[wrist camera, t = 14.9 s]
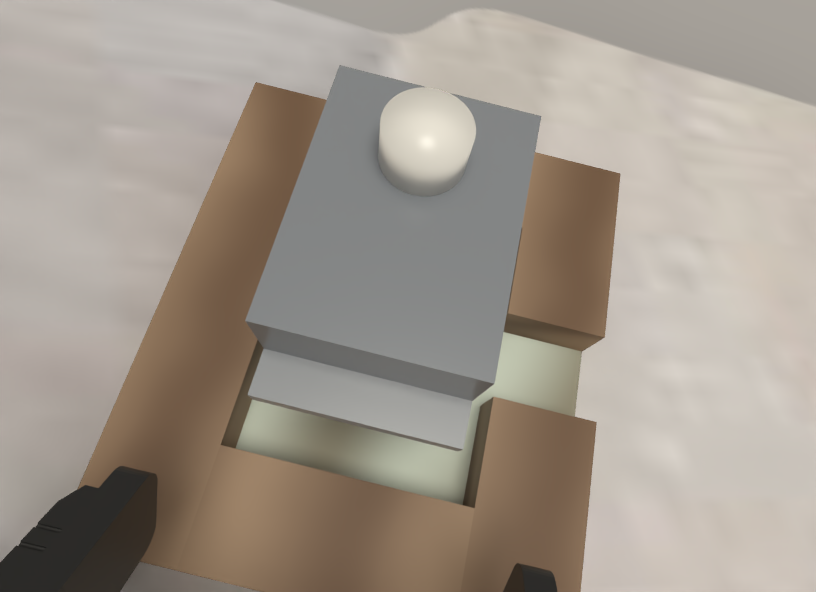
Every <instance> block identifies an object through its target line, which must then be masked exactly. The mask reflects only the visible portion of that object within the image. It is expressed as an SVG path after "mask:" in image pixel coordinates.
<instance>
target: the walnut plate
mask: <svg viewBox="0 0 816 592" xmlns="http://www.w3.org/2000/svg"><path fill="white" fill-rule="evenodd" d="M326 101H327V100H325V99H321V98H317V97H313V96H309V95H305V94H301V93H297V92H293V91H289V90H285V89H281V88H277V87H273V86H269V85H265V84H261V83H257V82H256V83H255V85H254V87H253V90H252V92H251V94H250V97H249V99H248V101H247V103H246V106H245V108H244V110H243V113H242V115H241V117H240V119H239V122H238V124H237V126H236V129H235V131H234V133H233V135H232V138H231V140H230V142H229V145H228V147H227V149H226V151H225V154H224V156H223V158H222V161H221V163H220V165H219V167H218V170H217V172H216V174H215V177H214V179H213V181H212V183H211V186H210V188H209V190H208V192H207V195H206V197H205V199H204V202H203V204H202V206H201V208H200V211H199V213H198V215H197V218H196V220H195V222H194V224H193V227H192V229H191V231H190V234H189V236H188V238H187V240H186V243H185V245H184V247H183V250H182V252H181V254H180V256H179V259H178V261H177V263H176V266H175V268H174V270H173V272H172V275H171V277H170V279H169V282H168V284H167V286H166V288H165V291H164V293H163V295H162V298H161V300H160V302H159V304H158V307H157V309H156V311H155V313H154V316H153V318H152V320H151V323H150V325H149V327H148V329H147V332H146V334H145V336H144V339H143V341H142V343H141V345H140V348H139V350H138V352H137V355H136V357H135V359H134V361H133V364H132V366H131V368H130V371H129V373H128V375H127V377H126V380H125V382H124V384H123V387H122V389H121V391H120V393H119V396H118V398H117V400H116V403H115V405H114V407H113V409H112V412H111V414H110V416H109V419H108V421H107V423H106V425H105V428H104V430H103V432H102V434H101V437H100V439H99V441H98V444H97V446H96V448H95V450H94V453H93V455H92V457H91V460H90V462H89V464H88V466H87V469H86V471H85V473H84V476H83V478H82V480H81V482H80V485H79V487H78V489H79V488H81V487H83V486H84V485H88V486H92V487H96V488H99V487H100V486H101V485H102V483H103V482H104V481H105V480H106V479H107V478H108V477H109V475H110V474H111V473H112V472H113V471H114V470H115V469H116V468H118V467H119V466H126V467H130V468H134V469H138V470H142V471H146V472H150V473H155V474H156V475H157V478H158V485H157V519H156V528H155V532H154V535H153V538H152V540H151V543H150V545H149V547H148V549H147V551H146V552H145V554H144V556H143V557H142V559H141V560H140V562H144V563H148V564H152V565H156V566H160V567H164V568H168V569H172V570H176V571H180V572H184V573H188V574H192V575H196V576H200V577H204V578H208V579H212V580H216V581H220V582H224V583H228V584H233V585H237V586H241V587H245V588H249V589H253V590H257V591H261V592H503V590H504V588H505V586H506V584H507V581H508V579H509V577H510V575H511V572H512V570H513V568H514V566H515V565H516V564H517V563H520V564H524V565H528V566H533V567H537V568H541V569H545V570H549V571H551V572H552V573H553V574H554V577H555V581H556V586H557V592H580V590H581V580H582V569H583V559H584V548H585V538H586V527H587V517H588V506H589V496H590V485H591V475H592V465H593V454H594V444H595V433H596V423H597V422H593V421H589V420H585V419H581V418H577V417H575V408H576V399H577V390H578V381H579V372H580V363H581V354H582V351H583V350H585V349H587V348H588V347H590V346H592V345H593V344H595V343H596V342H598V341H600V340H601V339H603V338H604V337H605V329H606V318H607V308H608V297H609V287H610V276H611V266H612V255H613V245H614V235H615V224H616V214H617V203H618V193H619V182H620V173H616V172H612V171H608V170H604V169H600V168H596V167H592V166H588V165H584V164H580V163H576V162H572V161H568V160H564V159H560V158H556V157H552V156H548V155H544V154H540V153H536V152H535V155H534V160H533V166H532V172H531V178H530V183H529V189H528V195H527V200H526V206H525V212H524V218H523V223H522V229H521V235H520V241H519V246H518V252H517V258H516V264H515V269H514V275H513V281H512V287H511V292H510V298H509V304H508V309H507V315H506V321H505V327H504V332H503V338H502V344H501V350H500V355H499V361H498V367H497V373H496V378H495V384H494V385H492V386H491V387H490V388H488V389H487V390H486V391H485V392H483V393H482V394H481V395H480V396H478V397H477V398H476V399H474V400H473V401H472V405H471V411H470V416H469V421H468V427H467V432H466V437H465V443H464V448H463V450H461V451H454V450H450V449H446V448H442V447H438V446H434V445H430V444H426V443H422V442H418V441H414V440H410V439H406V438H402V437H398V436H395V435H391V434H387V433H383V432H379V431H375V430H371V429H367V428H363V427H359V426H355V425H351V424H347V423H343V422H339V421H335V420H331V419H327V418H323V417H319V416H315V415H311V414H307V413H303V412H300V411H296V410H292V409H288V408H284V407H280V406H276V405H272V404H268V403H264V402H260V401H256V400H253V399H252V398H250V397H249V396H248V392H249V389H250V386H251V383H252V380H253V377H254V375H255V372H256V369H257V366H258V363H259V360H260V357H261V354H262V352H263V349H264V348H263V347H262V345H261V344H260V342H259V341H258V339H257V338H256V336H255V335H254V333H253V332H252V330H251V329H250V327H249V326H248V324H247V323H246V321H245V320H246V317H247V314H248V311H249V309H250V306H251V303H252V301H253V298H254V295H255V293H256V290H257V287H258V284H259V282H260V279H261V276H262V274H263V271H264V268H265V266H266V263H267V260H268V257H269V255H270V252H271V249H272V247H273V244H274V241H275V239H276V236H277V233H278V230H279V228H280V225H281V222H282V220H283V217H284V214H285V212H286V209H287V206H288V203H289V201H290V198H291V195H292V193H293V190H294V187H295V185H296V182H297V179H298V176H299V174H300V171H301V168H302V166H303V163H304V160H305V158H306V155H307V152H308V149H309V147H310V144H311V141H312V139H313V136H314V133H315V131H316V128H317V125H318V123H319V120H320V117H321V114H322V112H323V109H324V106H325V104H326ZM78 489H77V490H78Z"/></svg>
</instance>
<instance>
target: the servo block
mask: <svg viewBox="0 0 816 592" xmlns="http://www.w3.org/2000/svg"><path fill="white" fill-rule="evenodd" d="M540 120H541V116H538V115H534V114H530V113H526V112H522V111H518V110H514V109H511V108H507V107H503V106H499V105H495V104H491V103H487V102H483V101H479V100H475V99H471V98H467V97H463V96H459V95H455V94H451V93H448V92H446V91H443V90H440V89H435V88H428V87H424V86H420V85H416V84H412V83H408V82H404V81H400V80H396V79H392V78H388V77H384V76H380V75H376V74H372V73H368V72H364V71H360V70H356V69H352V68H349V67H345V66H341V65H340V66H339V69H338V71H337V74H336V77H335V79H334V82H333V85H332V87H331V90H330V93H329V96H328V98H327V101H326V104H325V106H324V109H323V112H322V114H321V117H320V120H319V123H318V125H317V128H316V131H315V133H314V136H313V139H312V141H311V144H310V147H309V149H308V152H307V155H306V158H305V160H304V163H303V166H302V168H301V171H300V174H299V176H298V179H297V182H296V185H295V187H294V190H293V193H292V195H291V198H290V201H289V203H288V206H287V209H286V212H285V214H284V217H283V220H282V222H281V225H280V228H279V230H278V233H277V236H276V239H275V241H274V244H273V247H272V249H271V252H270V255H269V257H268V260H267V263H266V266H265V268H264V271H263V274H262V276H261V279H260V282H259V284H258V287H257V290H256V293H255V295H254V298H253V301H252V303H251V306H250V309H249V311H248V314H247V317H246V320H245V321H246V323H247V324H248V326H249V327H250V329H251V330H252V332H253V333H254V335H255V336H256V338H257V339H258V341H259V342H260V344H261V345H262V347H263V348H264V349H263V352H262V354H261V357H260V360H259V363H258V366H257V369H256V372H255V375H254V377H253V380H252V383H251V386H250V389H249V392H248V396H249V397H250V398H252V399H253V400H256V401H260V402H264V403H268V404H272V405H276V406H280V407H284V408H288V409H292V410H296V411H300V412H303V413H307V414H311V415H315V416H319V417H323V418H327V419H331V420H335V421H339V422H343V423H347V424H351V425H355V426H359V427H363V428H367V429H371V430H375V431H379V432H383V433H387V434H391V435H395V436H398V437H402V438H406V439H410V440H414V441H418V442H422V443H426V444H430V445H434V446H438V447H442V448H446V449H450V450H454V451H461V450H463V448H464V443H465V437H466V432H467V427H468V421H469V416H470V411H471V405H472V401H473V400H474V399H476V398H477V397H478V396H480V395H481V394H482V393H483V392H485V391H486V390H487V389H488V388H490V387H491V386H492V385H494V384H495V378H496V373H497V367H498V361H499V355H500V350H501V344H502V338H503V332H504V327H505V321H506V315H507V309H508V304H509V298H510V292H511V287H512V281H513V275H514V269H515V264H516V258H517V252H518V246H519V241H520V235H521V229H522V223H523V218H524V212H525V206H526V200H527V195H528V189H529V183H530V178H531V172H532V166H533V160H534V155H535V149H536V143H537V137H538V132H539V126H540Z"/></svg>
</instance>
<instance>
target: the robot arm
mask: <svg viewBox="0 0 816 592" xmlns="http://www.w3.org/2000/svg"><path fill="white" fill-rule="evenodd" d="M157 485H158V478H157V475H156V474H155V473H150V472H146V471H142V470H138V469H134V468H130V467H126V466H119V467H118V468H116V469H115V470H114V471H113V472H112V473H111V474H110V475H109V477H108V478H107V479H106V480H105V481H104V482H103V483H102V485H101V486H100V487H99V488H96V487H92V486H88V485H84V486H83V487H81V488H79V489H78V490H76V491H74V492H73V493H71V494H69V495H68V496H66V497H64V498H63V499H61V500H59V501H58V502H57V503H56V504H55V505H54V506H53V507H52V508H51V509H50V510H49V512H48V513H47V514H46V515H45V516H44V517H43V518H42V519H41V520H40V521H39V522H38V525H37V526H36V527H33V529H32V530H31V531H30V532H29V533H28V534H27V535H26V536H25V537H24V538H23V539H22V540H21V543H20V544H19V546H16V547H15V548H14V549H13V550H12V551H11V552H10V553H9V554H8V555H7V556H6V557H5V558H4V559H3V560H2V561H1V562H0V592H120V590H121V589H122V587H123V586H124V584H125V583H126V581H127V580H128V578H129V577H130V575H131V574H132V572H133V571H134V569H135V568H136V566H137V565H138V563H139V562H140V560H141V559H142V557H143V556H144V554H145V552H146V551H147V549H148V547H149V545H150V543H151V540H152V538H153V535H154V532H155V528H156V519H157ZM503 592H557V586H556V581H555V577H554V574H553V573H552V572H551V571H549V570H545V569H541V568H537V567H533V566H528V565H524V564H520V563H517V564H516V565H515V566H514V568H513V570H512V572H511V575H510V577H509V579H508V581H507V584H506V586H505V588H504V590H503Z"/></svg>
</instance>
